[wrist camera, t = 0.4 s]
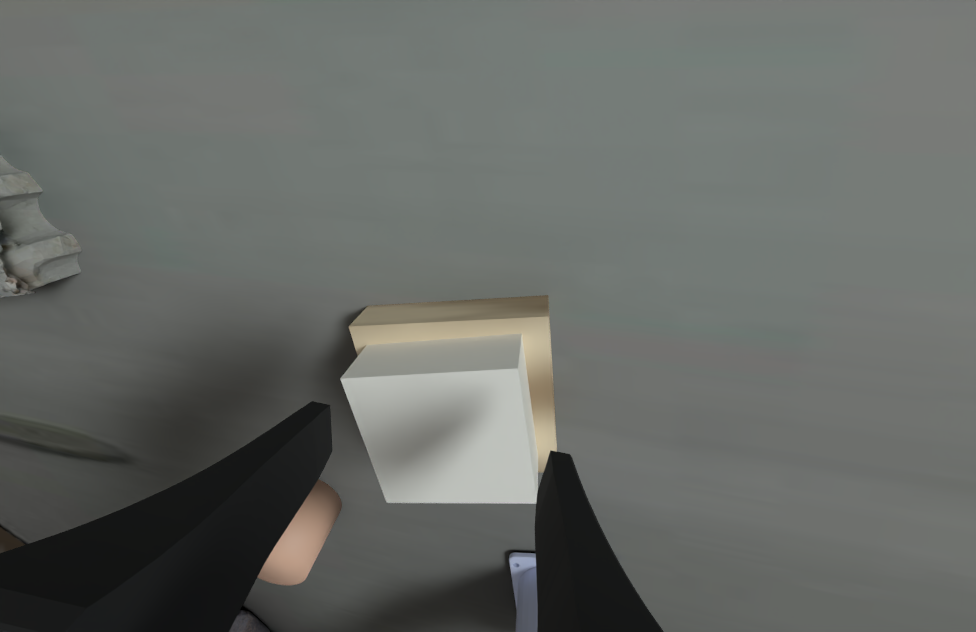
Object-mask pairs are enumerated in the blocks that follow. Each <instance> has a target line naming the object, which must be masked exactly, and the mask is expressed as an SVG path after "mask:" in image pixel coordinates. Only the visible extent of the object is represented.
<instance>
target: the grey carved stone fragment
mask: <svg viewBox="0 0 976 632" xmlns="http://www.w3.org/2000/svg"><path fill="white" fill-rule="evenodd" d="M42 192H43V190H42V189H41V188H40V186H39V185H38V184H37V183H36V182H35V181H34V179H33V178H32V177H31V176H30V174H29V173H28V172H25V171H21V170H18V169H16V168H14V167H13V166H11V165H10V164H9V163H8V162H7V161H6V160H5V159H3V157H2V156H1V155H0V298H2V297H8V296H17V295H24V294H31V293H36V292H35V291H33V290H32V289H35V288H38V287H41V286H44V285H46V284H48V283H51V282H54V281H57V280H60V279H63V278H66V277H69V276H72V275H75V274H79V273H81V271H80V268H79V265H78V261H77V258H78V254H79V253H80V252H81V248H80V246H79V244H78V242H77V241H76V239H75V238H74V237H73V235H72V234H71V233H65V232H63V231H60V230H57V229H56V228H55V227H53V226H52V225H51V224H50V223H49V222H48V221H47V220H46V219H45V218H44V217H43V215H42V213H41V212H40V209H39V205H38V197H39V195H40V194H41V193H42Z"/></svg>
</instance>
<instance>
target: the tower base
mask: <svg viewBox="0 0 976 632" xmlns="http://www.w3.org/2000/svg"><path fill="white" fill-rule="evenodd" d="M349 329H350V333H351V336H352V339H353V342H354V346H355V349H356V352H357V356H358V355H359V354H360V353H361V352H362V350H363V349H364V348H365V347H366V345H373V344H386V343H399V342H413V341H426V340H439V339H452V338H465V337H479V336H492V335H505V334H519V333H522V339H523V346H524V354H525V362H526V369H527V377H528V384H529V392H530V399H531V407H532V414H533V422H534V429H535V437H536V444H537V452H538V472H544V470H545V467H546V463H547V460H548V457H549V453H550V450H551V451H556V452H557V443H556V425H555V407H554V389H553V372H552V354H551V336H550V318H549V301H548V295H545V296H528V297H511V298H494V299H477V300H459V301H442V302H425V303H408V304H391V305H374V306H367V307H366V308H365V310H364V311H363V312H362V313H361V314H360V315H359V316H358V317H357V318H356V319H355V320H354V321H353V322H352V323H351V325H350V326H349Z"/></svg>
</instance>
